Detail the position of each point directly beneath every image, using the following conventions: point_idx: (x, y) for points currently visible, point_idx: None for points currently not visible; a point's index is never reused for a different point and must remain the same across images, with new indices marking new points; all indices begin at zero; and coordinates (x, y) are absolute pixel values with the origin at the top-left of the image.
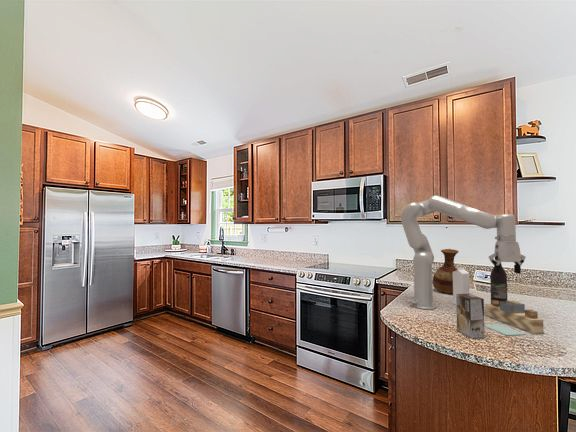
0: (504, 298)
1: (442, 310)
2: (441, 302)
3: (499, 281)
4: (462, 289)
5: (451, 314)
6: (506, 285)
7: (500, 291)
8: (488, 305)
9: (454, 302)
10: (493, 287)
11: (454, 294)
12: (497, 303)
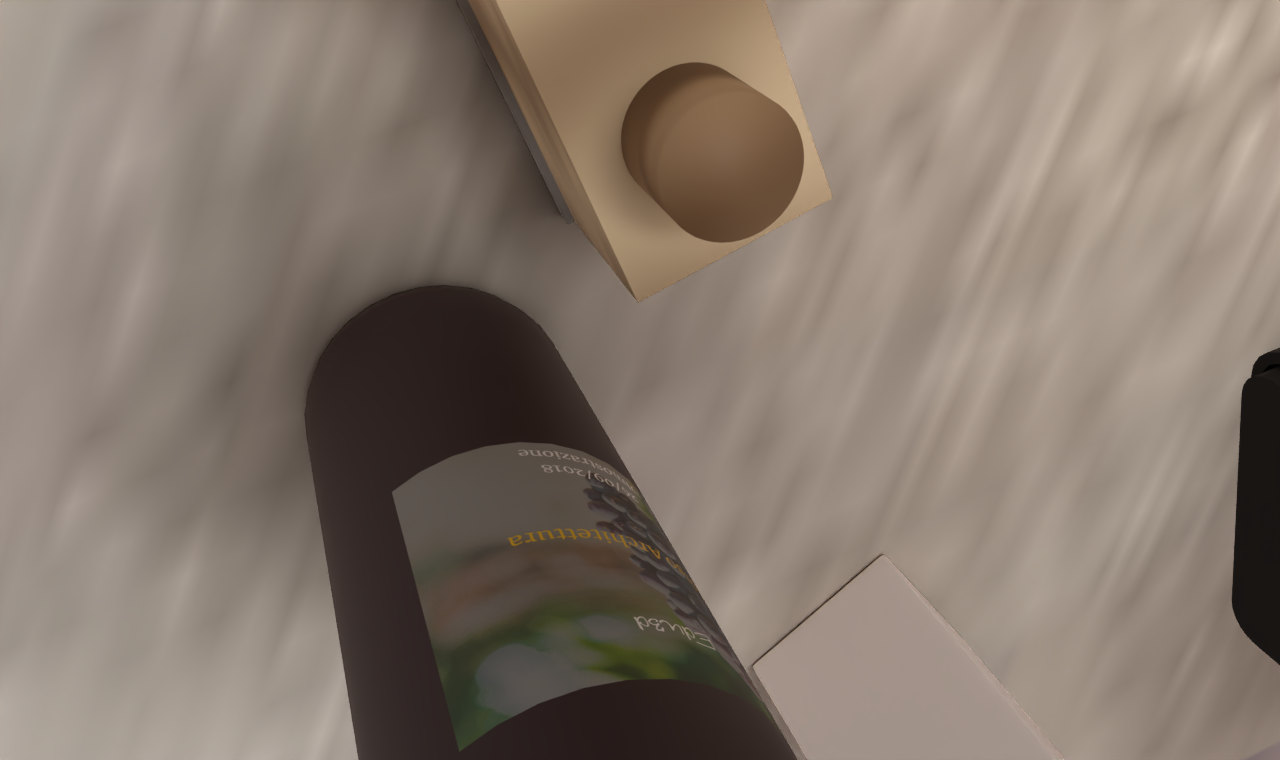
0: (440, 463)
1: (1272, 215)
2: (1084, 654)
3: (688, 734)
4: (1056, 758)
5: (1251, 23)
6: (430, 736)
7: (573, 538)
8: (811, 138)
9: (969, 647)
10: (727, 643)
11: (1046, 738)
12: (704, 83)
